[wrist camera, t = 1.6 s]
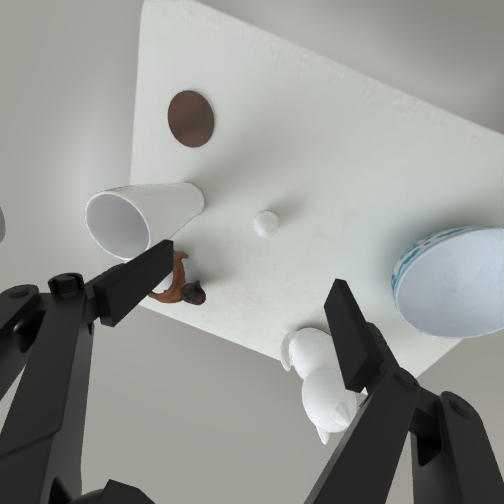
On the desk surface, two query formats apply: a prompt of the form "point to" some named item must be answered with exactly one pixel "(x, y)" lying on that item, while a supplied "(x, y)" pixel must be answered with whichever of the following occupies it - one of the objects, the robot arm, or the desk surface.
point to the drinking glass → (140, 216)
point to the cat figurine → (319, 380)
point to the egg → (266, 223)
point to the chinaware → (453, 283)
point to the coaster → (190, 119)
